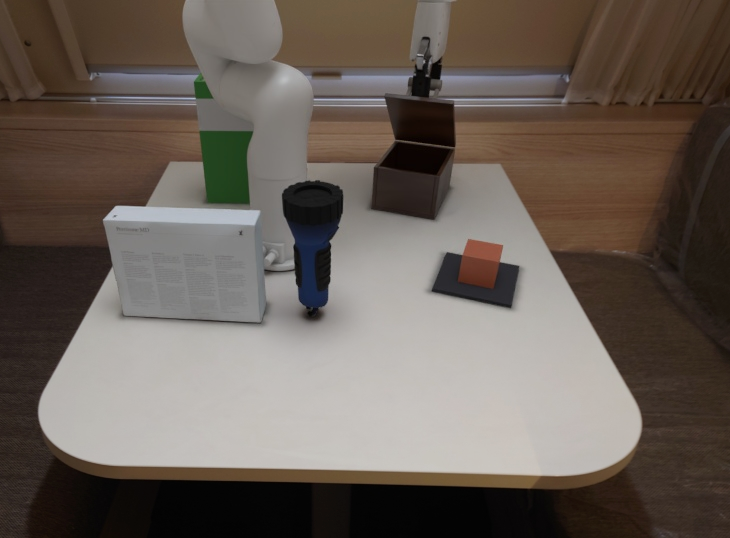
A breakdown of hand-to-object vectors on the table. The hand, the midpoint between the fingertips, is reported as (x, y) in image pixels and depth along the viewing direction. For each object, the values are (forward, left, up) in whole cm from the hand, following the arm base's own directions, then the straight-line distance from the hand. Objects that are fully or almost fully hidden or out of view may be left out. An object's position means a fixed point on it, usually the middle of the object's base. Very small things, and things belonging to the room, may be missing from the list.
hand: (425, 91), depth 109 cm
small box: (-28, -17, -20) cm, 39 cm away
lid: (-1, 0, -6) cm, 6 cm away
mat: (-29, -17, -21) cm, 39 cm away
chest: (-3, 0, -21) cm, 21 cm away
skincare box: (-53, +21, -21) cm, 60 cm away
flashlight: (-48, +4, -21) cm, 52 cm away
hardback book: (-14, +31, -21) cm, 40 cm away
